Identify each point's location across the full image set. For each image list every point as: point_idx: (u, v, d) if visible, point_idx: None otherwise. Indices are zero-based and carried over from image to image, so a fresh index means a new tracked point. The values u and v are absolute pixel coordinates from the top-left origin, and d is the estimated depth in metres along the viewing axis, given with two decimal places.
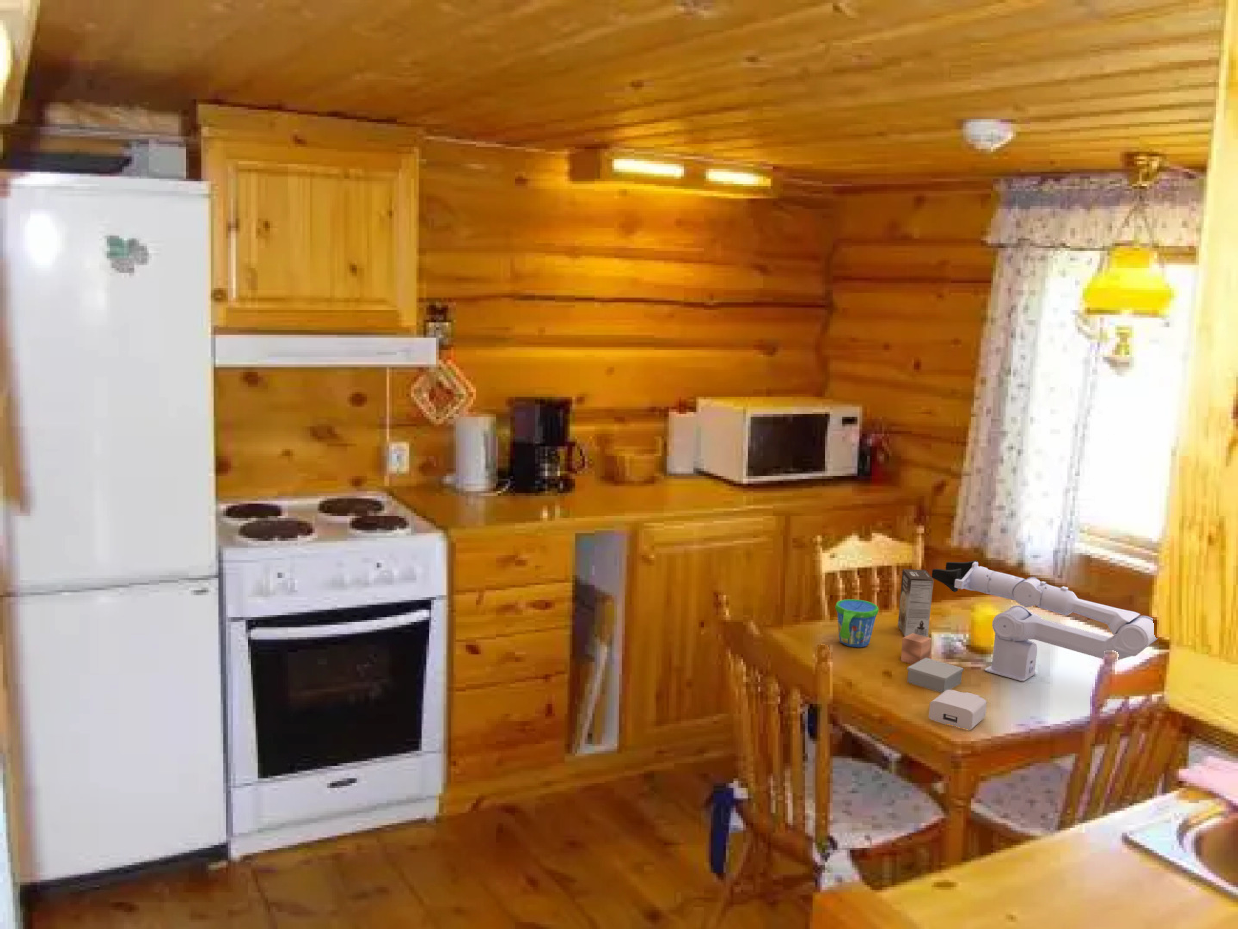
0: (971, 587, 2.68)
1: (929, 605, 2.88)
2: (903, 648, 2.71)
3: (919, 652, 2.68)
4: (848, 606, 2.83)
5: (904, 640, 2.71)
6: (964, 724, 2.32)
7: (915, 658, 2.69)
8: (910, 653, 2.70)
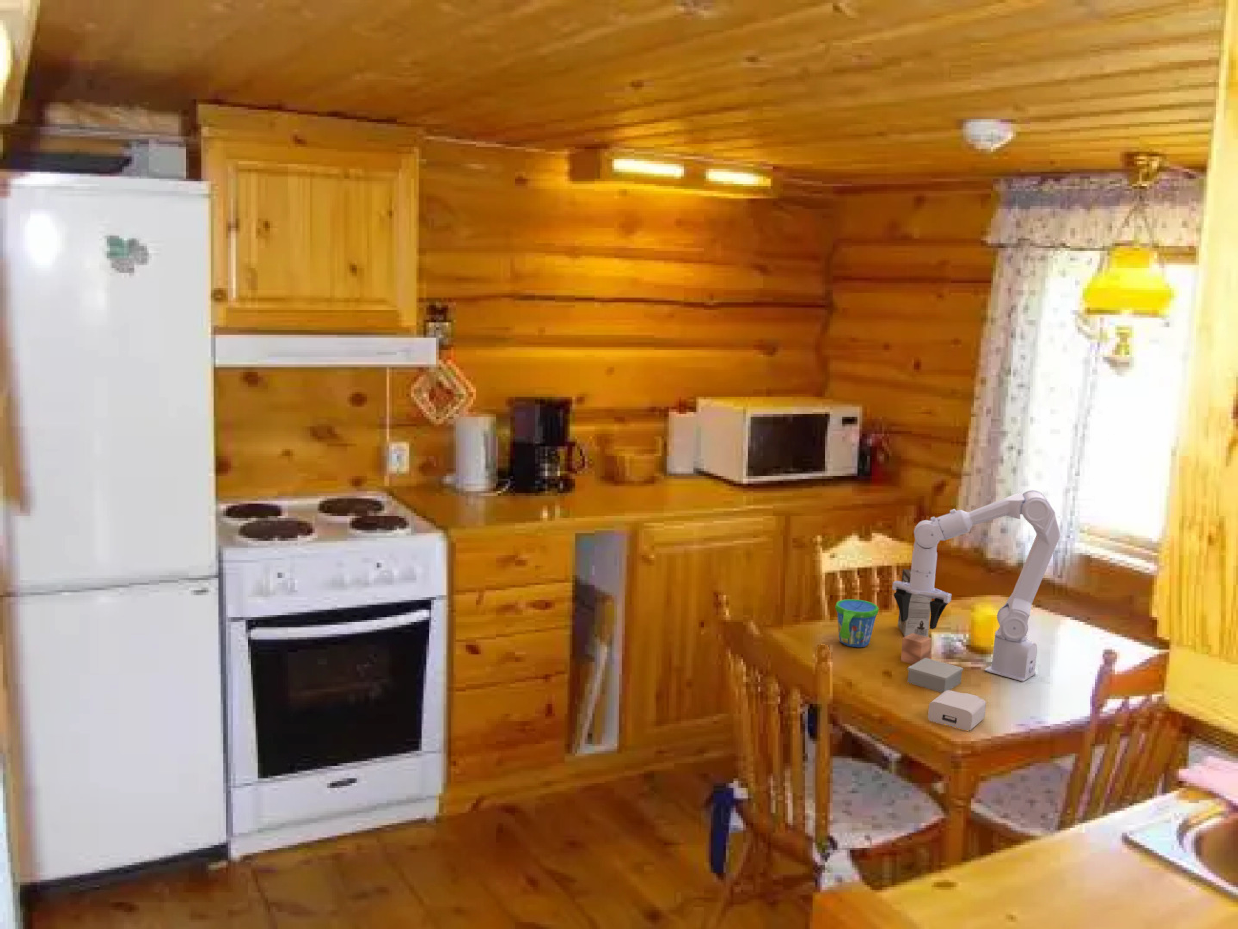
0: (933, 587, 2.69)
1: (929, 605, 2.88)
2: (903, 648, 2.71)
3: (919, 652, 2.68)
4: (848, 606, 2.83)
5: (904, 640, 2.71)
6: (963, 725, 2.32)
7: (915, 658, 2.69)
8: (910, 653, 2.70)
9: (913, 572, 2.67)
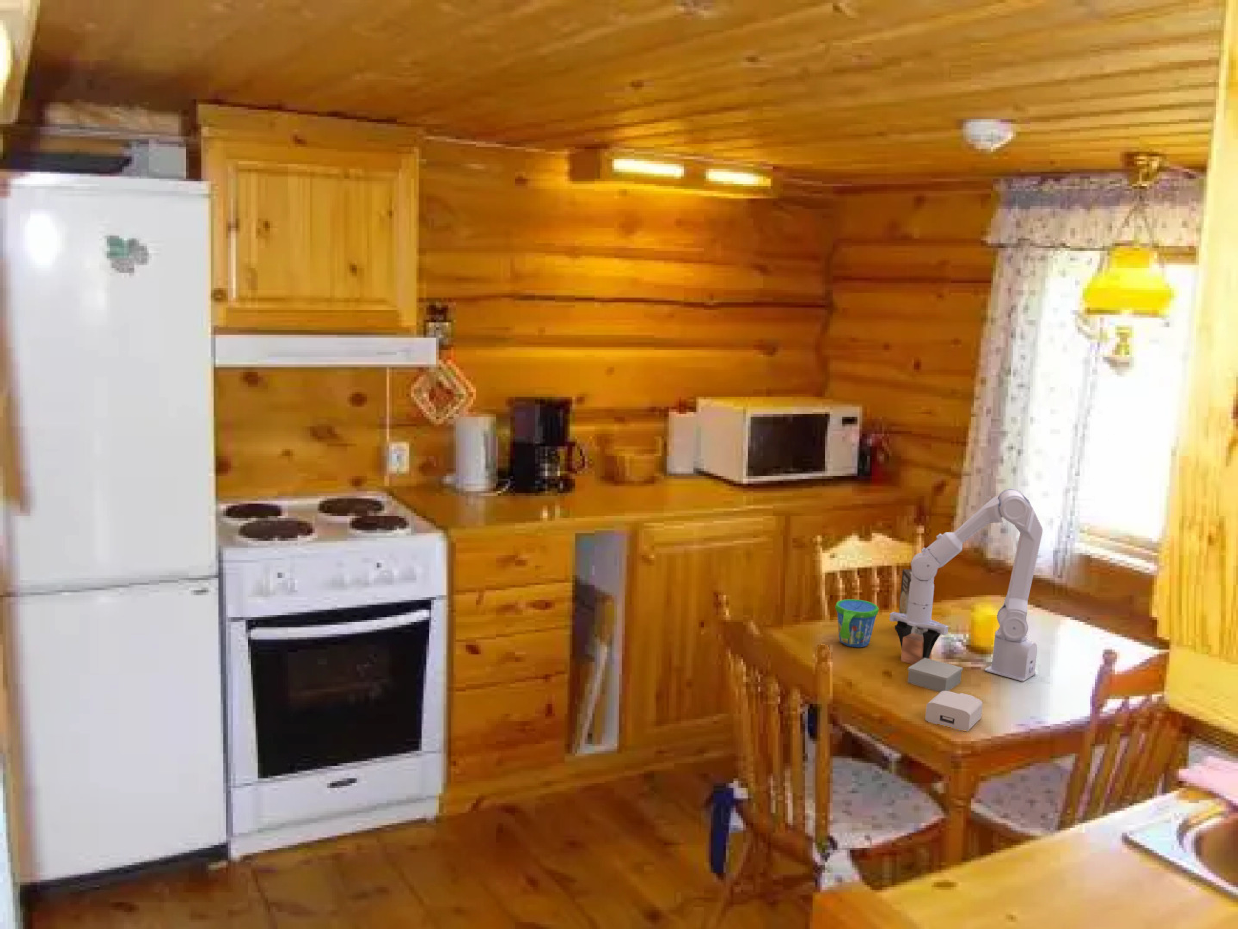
0: (930, 619, 2.70)
1: None
2: (903, 648, 2.71)
3: (919, 652, 2.68)
4: (848, 606, 2.83)
5: (904, 640, 2.71)
6: (961, 725, 2.32)
7: (915, 657, 2.69)
8: (910, 653, 2.70)
9: (910, 604, 2.69)
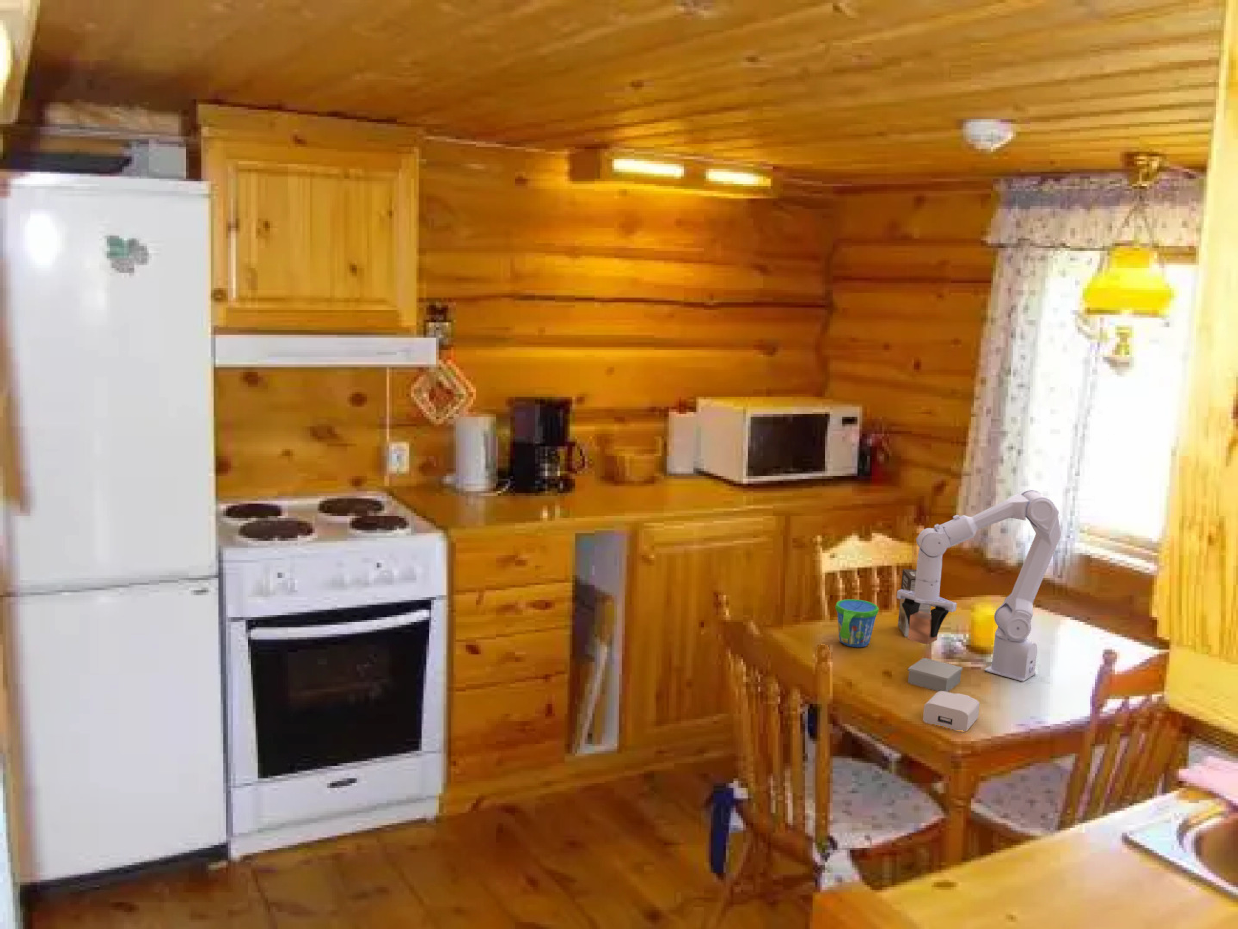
0: (938, 596, 2.65)
1: None
2: (911, 626, 2.66)
3: (927, 630, 2.63)
4: (848, 606, 2.83)
5: (911, 618, 2.66)
6: (959, 726, 2.31)
7: (923, 635, 2.64)
8: (917, 631, 2.65)
9: (918, 581, 2.64)
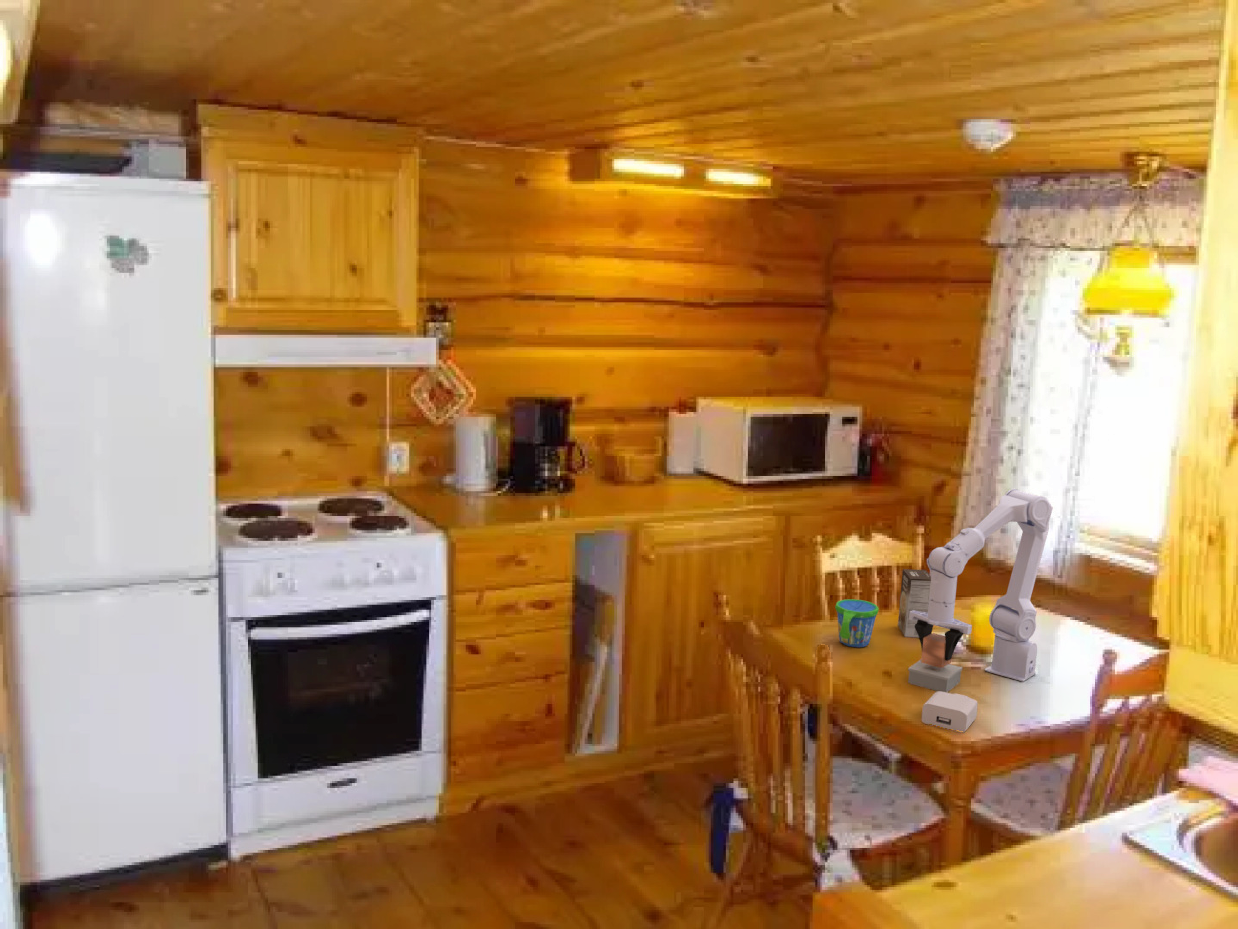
0: (953, 618, 2.55)
1: None
2: (924, 649, 2.56)
3: (941, 653, 2.54)
4: (848, 606, 2.83)
5: (925, 640, 2.56)
6: (957, 726, 2.31)
7: (937, 659, 2.55)
8: (931, 654, 2.55)
9: (931, 602, 2.54)
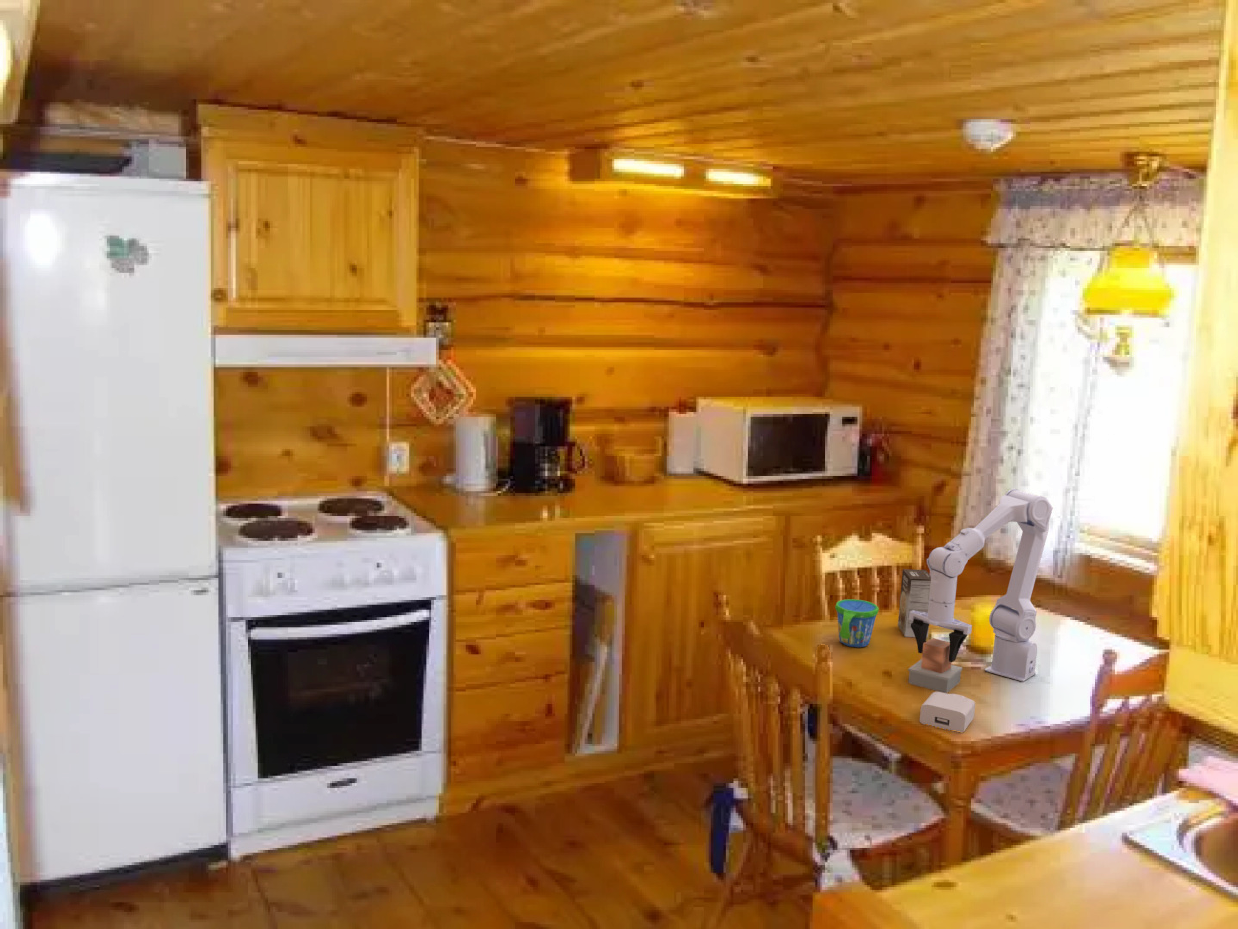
0: (953, 618, 2.55)
1: None
2: (924, 654, 2.57)
3: (941, 658, 2.54)
4: (848, 606, 2.83)
5: (925, 646, 2.56)
6: (956, 726, 2.31)
7: (937, 664, 2.55)
8: (931, 659, 2.56)
9: (931, 602, 2.54)
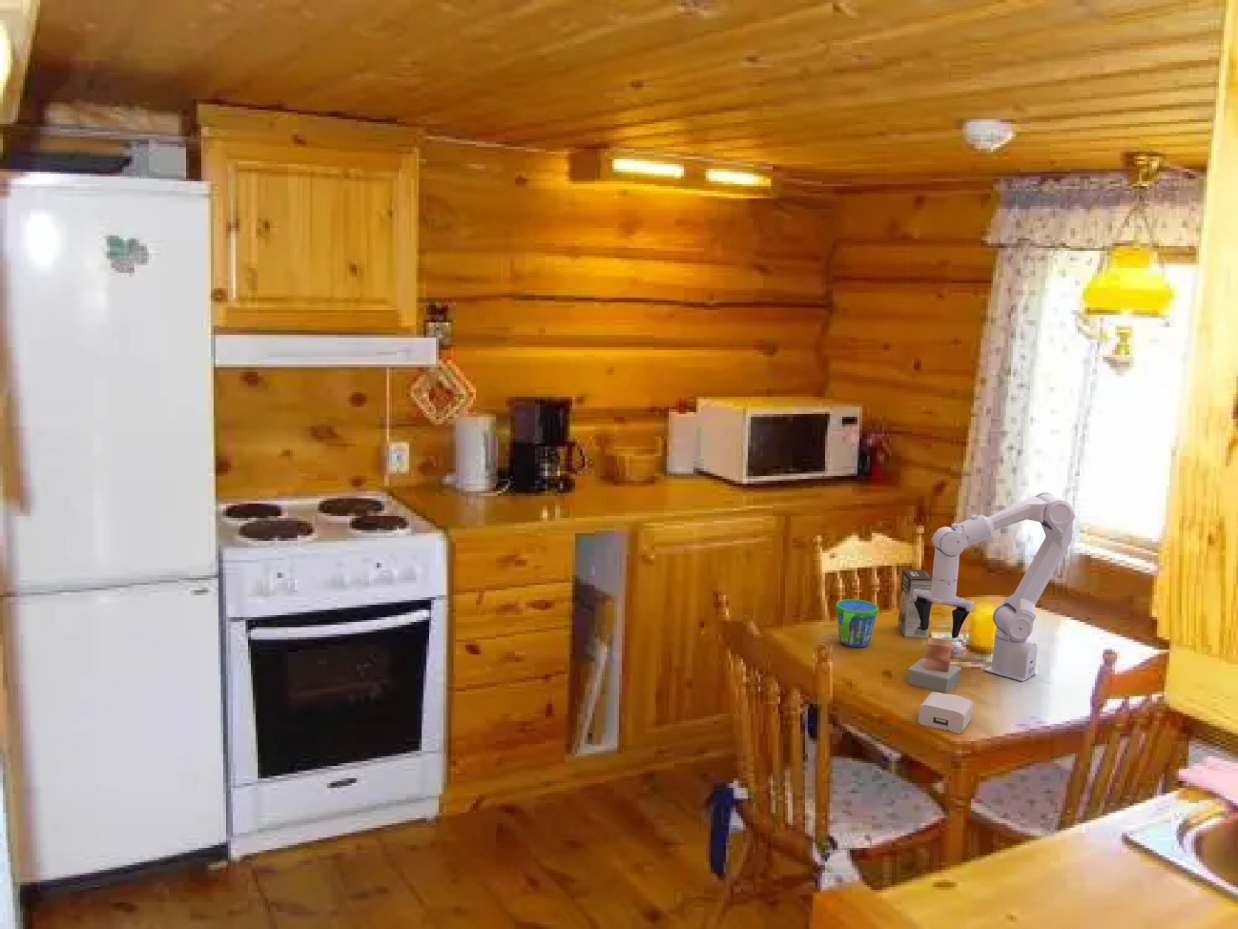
0: (955, 595, 2.63)
1: None
2: (928, 655, 2.56)
3: (947, 657, 2.55)
4: (848, 606, 2.83)
5: (929, 646, 2.56)
6: (955, 727, 2.31)
7: (943, 663, 2.55)
8: (936, 659, 2.56)
9: (934, 580, 2.61)
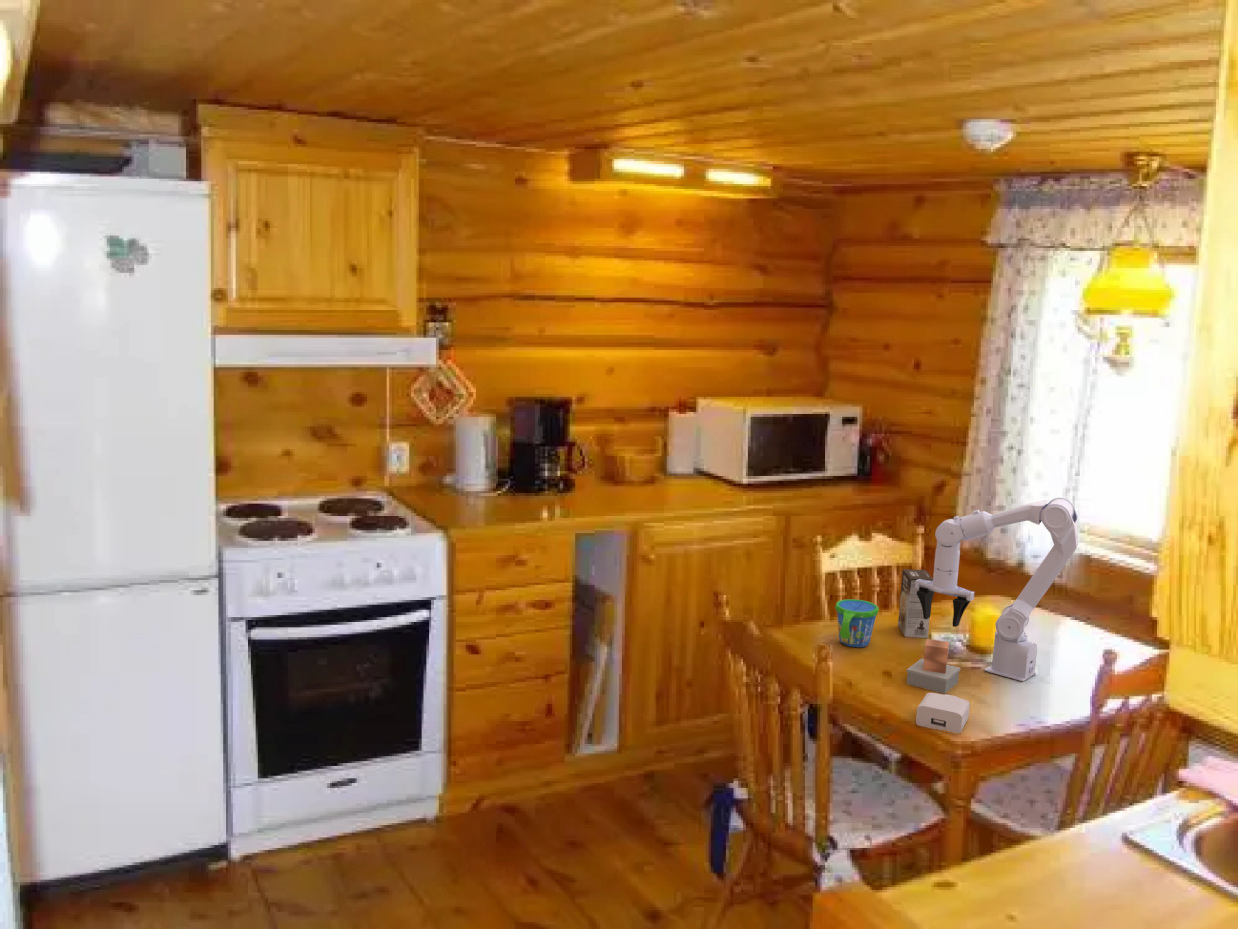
0: (956, 585, 2.71)
1: None
2: (926, 657, 2.55)
3: (945, 658, 2.54)
4: (848, 606, 2.83)
5: (927, 648, 2.55)
6: (953, 727, 2.30)
7: (940, 665, 2.55)
8: (934, 661, 2.55)
9: (936, 570, 2.70)
